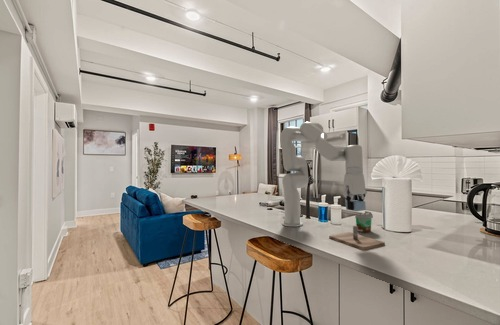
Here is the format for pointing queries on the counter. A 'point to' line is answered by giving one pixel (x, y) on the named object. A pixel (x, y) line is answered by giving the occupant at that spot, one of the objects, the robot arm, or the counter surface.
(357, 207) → the collar
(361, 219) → the food container
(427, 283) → the counter surface
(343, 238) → the shaft stand
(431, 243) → the counter surface
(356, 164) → the robot arm
